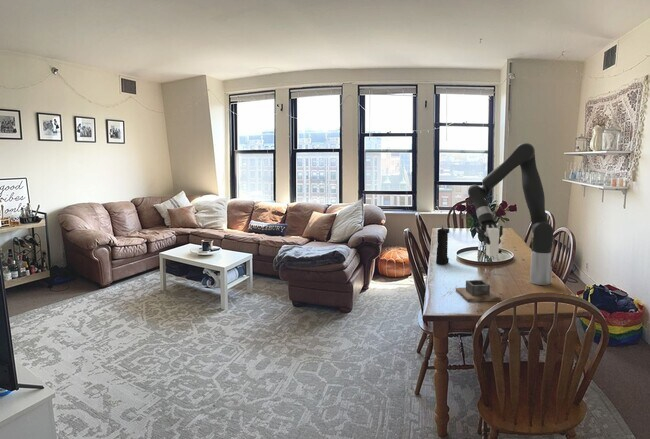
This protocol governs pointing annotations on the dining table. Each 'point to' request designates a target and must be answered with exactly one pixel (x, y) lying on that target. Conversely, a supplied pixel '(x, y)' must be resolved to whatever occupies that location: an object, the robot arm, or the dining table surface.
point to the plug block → (492, 242)
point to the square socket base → (477, 291)
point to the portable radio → (442, 246)
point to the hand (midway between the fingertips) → (494, 243)
